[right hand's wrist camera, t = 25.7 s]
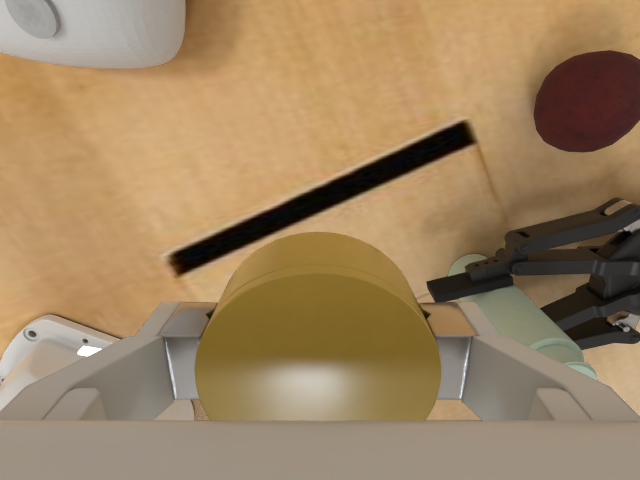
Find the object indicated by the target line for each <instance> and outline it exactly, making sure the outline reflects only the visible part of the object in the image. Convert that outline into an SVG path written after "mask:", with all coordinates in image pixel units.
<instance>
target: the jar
mask: <svg viewBox="0 0 640 480" xmlns="http://www.w3.org/2000/svg"><path fill="white" fill-rule="evenodd" d="M484 259H488V258H487V257H485V256H483V255H480V254H468V255H465V256H462V257H461V258H459V259H458V260H456V261H455V262H454V263H453V264H452V266H451V268H450V270H449V273H448V276H452V275H456V274H460V273H464V272H465V266H466V265H468V264H469V263H472V262H477V261H480V260H484ZM459 300H460V301H461V302H475V303H476V304H477V305H478V306H479V308H480V309H481V310H482V312H483V313H484V314H485V316H486V317H487V318H488V319H489V321H490V322H491V323H492V325H493V326H494V327H495V329H496V330H497V331H498V332H499V334H500V335H501V336H508V337H510V338H512V339H514V340H516V341H518V342H520V343H522V344H524V345H526V346H528V347H530V348H532V349H534V350H536V351H538V352H540V353H542V354H544V355H546V356H548V357H551V358H553V359H555V360H557V361H559V362H561V363H563V364H565V365H567V366H569V367H571V368H573V369H575V370H577V371H579V372H581V373H583V374H585V375H587V376H589V377H591V378H593V379H595V380H597V375H596V373H595V370H594V369H593V368H592V367H591V366H590V365H588V364H587V363H585V362H584V356H583V353H582V351H581V349H580V348H579V346H578V345H577V344H576V343H575V342H574V341H573V340H572V339H570V338H569V337H568V336H567V335H566V334H565V333H564V332H563V331H562V330H561V329H560V328H559V327H558V326H557V325H556V324H555V323H554V322H553V321H552V320H551V319H550V318H549V317H548V316H547V315H546V314H545V313H544V312H543V311H542V310H541V309H540V308H539V307H538V306H536V305H535V304H534V303H533V302H532V301H531V300H530V299H529V298H528V297H527V296H526V295H525V294H524V293H523V292H522V291H521V290H520V289H519V288H518V287H517V286H516V285H515V284H514V283H513V286H509V287H504V288H500V289H496V290H492V291H488V292H484V293H480V294H475V295H471V296H467V297H463V298H459ZM597 381H598V380H597Z"/></svg>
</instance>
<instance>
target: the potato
mask: <svg viewBox="0 0 640 480" xmlns="http://www.w3.org/2000/svg"><path fill="white" fill-rule="evenodd" d="M534 119H535V124H536V130H537V132H538V133H539V135H540V136H541V137H542V139H543V140H544V141H545V142H546V143H548V144H549V145H552V146H554V147H556V148H558V149H560V150H564V151H568V152H591V151H596V150H598V149H601V148H604V147H607V146H609V145H612V144H613V143H615V142H616V141H618V140H619V139H620V138H622V137H623V136H624V135H626V134H627V133H628V132H629V131H630V130H631V129H632V128H633V127H634V126H635V125H636V124H637V123H638V122H639V120H640V60H639V59H638V58H636V57H634V56H633V55H631V54H626V53H622V52H616V51H610V50H609V51H599V52H590V53H585V54H581V55H577V56H574V57H572V58H570V59H568V60H566V61H564V62H563V63H561V64H559V65H557V66H556V67H555V68H554V69H553V70H552V71H551V72H550V73H549V74H548V75H547V77H546V78H545V80H544V82H543V84H542V86H541V88H540V90H539V92H538V94H537V98H536V104H535V110H534Z"/></svg>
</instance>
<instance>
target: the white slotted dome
mask: <svg viewBox="0 0 640 480" xmlns="http://www.w3.org/2000/svg"><path fill="white" fill-rule="evenodd" d="M185 18H186V6H185V0H0V53H3V54H7V55H11V56H15V57H19V58H24V59H29V60H34V61H38V62H44V63H51V64H58V65H66V66H75V67H87V68H106V69H134V68H147V67H153V66H158V65H162V64H165V63H167V62H169V61H170V60H172V59H173V58H174V57H175V55H176V54H177V53H178V51H179V49H180V47H181V45H182V41H183V38H184V33H185Z"/></svg>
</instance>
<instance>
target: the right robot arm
mask: <svg viewBox="0 0 640 480" xmlns="http://www.w3.org/2000/svg"><path fill="white" fill-rule="evenodd" d="M217 304H218V303H208V302H162V303H160V304H159V305H158V307H157V308H156V309H155V311H154V312H153V313H152V314H151V316H150V317H149V318H148V319H147V321H146V322H145V323H144V325H143V326H142V327H141V328H140V330H139V331H138V332H137V334H136V335H135V336H128V337H126V338H124V339H122V340H121V339H118V338H116V337H113V336H110V335H107V334H105V333H102V332H99V331H97V330H94V329H91V328H88V327H86V326H83V325H80V324H78V323H75V322H72V321H69V320H67V319H64V318H61V317H58V316H55V315H51V314H48V315H44V316H41V317H39V318H37V319H35V320H33V321H32V322H30V323H29V324H28V325H26V326H25V327H24V328H23V329H22V330H21V331H20V332H19V333H18V334H17V335H16V336H15V337H14V339H13V340H12V341H11V343H10V344H9V346H8V347H7V349H6V351H5V352H4V354H3V356H2V359H1V361H0V480H640V417H639V416H638V415H637V414H636V413H635V412H634V411H633V410H632V409H631V408H630V407H629V406H628V405H627V404H626V403H625V402H624V401H623V400H622V399H621V398H620V396H619V395H618V394H617V393H616V392H615V391H614V390H613V389H612V388H611V387H609V386H607V385H605V384H603V383H601V382H599V381H597V380H595V379H593V378H591V377H589V376H587V375H585V374H583V373H581V372H579V371H577V370H575V369H573V368H571V367H569V366H567V365H565V364H563V363H561V362H559V361H557V360H555V359H553V358H551V357H548V356H546V355H544V354H542V353H540V352H538V351H536V350H534V349H532V348H530V347H528V346H526V345H524V344H522V343H520V342H518V341H516V340H514V339H512V338H510V337H508V336H501V335H500V334H499V332H498V331H497V330H496V329H495V327H494V326H493V325H492V323H491V322H490V321H489V319H488V318H487V317H486V316H485V314H484V313H483V312H482V310H481V309H480V308H479V306H478V305H477V304H476V303H475V302H439V303H418V304H419V307H420V309H421V311H422V313H423V315H424V317H425V319H426V321H427V323H428V326H429V328H430V330H431V332H432V334H433V336H434V338H435V341H436V343H437V346H438V350H439V354H440V360H441V383H440V388H439V392H438V396H437V399H442V400H462V402H463V403H464V404H465V405H466V406H467V407H468V408H469V409H471V410H472V411H473V412H474V413H475V414H476V415H477V416H478V417H480V418H481V419H482V420H194V409H193V405H192V402H191V400H194V399H199V397H198V393H197V388H196V384H195V373H194V367H195V357H196V353H197V349H198V345H199V342H200V340H201V338H202V335H203V333H204V331H205V329H206V327H207V325H208V323H209V321H210V319H211V317H212V315H213V313H214V311H215V309H216V306H217Z"/></svg>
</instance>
